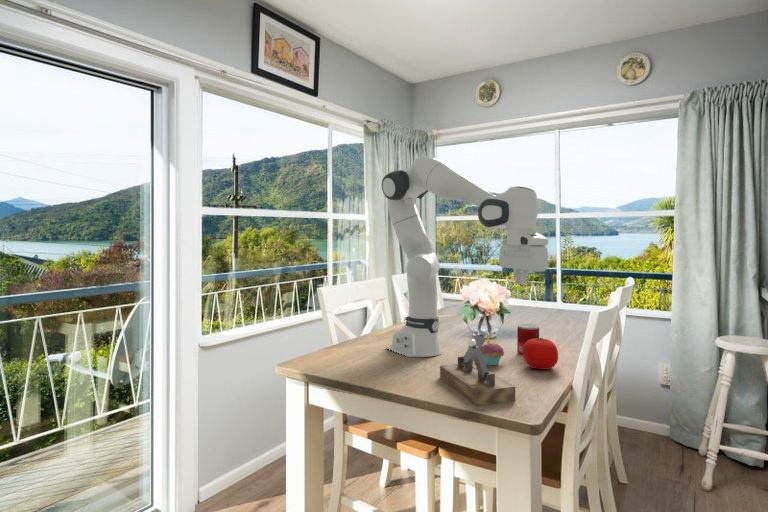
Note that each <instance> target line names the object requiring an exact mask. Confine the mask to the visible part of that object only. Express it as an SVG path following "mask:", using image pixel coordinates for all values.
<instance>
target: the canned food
mask: <svg viewBox="0 0 768 512" xmlns="http://www.w3.org/2000/svg"><path fill="white" fill-rule="evenodd" d="M516 330H517V337H516V338H517V339H516V340H517V342H516V347H517V348H516V350H517V354H519V355H520V356H523V357H524V355H523V347H524V345H525V343H526V342H527V341H528V340H530V339H534V338H537V339H540V326H539V325H538V324H537V325H536V324H533V323H519V324H518V325H517V329H516Z"/></svg>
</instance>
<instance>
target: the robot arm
mask: <svg viewBox="0 0 768 512" xmlns="http://www.w3.org/2000/svg"><path fill="white" fill-rule="evenodd" d="M381 191H382V192H383V195H384V197H385V198H387V209H388V210H387V211H388V214H389V219H390V221H391V224H392V227H393V230H394V232H395V235H396V238H397V240H398V243H399V245H400V246H401V249H402V250H403V252H404V254H405V255H406V256H405V257H406V258H407V260H408V261H407V263H406V268H405V270H406V278H407V280H406V281H407V282H406V283H407V289H408V298H409V299H408V307H409V308H408V314H409V315H408V316H407V317H406V316H405V317H404V318H403V322H404V321H406V322H405V325H403V326H402V327H400V328H399V330H397V331H396V332H394V334H393V335H392V339H391V343H390V344H388V345H387V346H385V349H386V348H387V349H389V350H388V351H390V350H392V351H391V352H393V351H394V352H393V353H396V352H397V353H396V354H398V353H399V354H398V355H401V354H402V355H401V356H404V355H405V357H407V358H415V357H416V358H417V357H418V358H419V357H421V358H425V357H427V358H428V357H429V358H430V357H436V356H439V355H440V354H442V349H441V345H440V339H439V326H440V325H439V322H440V320H439V316H438V309H439V308H438V306H439V305H438V302H439V301H438V290H437V289H438V288H437V275H438V273H439V270H440V262H439V258H438V256H437V255H436V252H435V250H434V248H433V245H432V243H431V240H430V239H429V237H428V235H427V232H426V230H425V227H424V224H423V221H422V219H421V216H420V213H419V211H418V209H417V205H416V200H417V199H422V198H423V197H424V196H425V195H426V194H427V193H428V192H430V193H431V194H433V195H435V196H437V197H440V198H442V199H445V200H453V201H461V202H466V203H469V204H472V205H474V206H476V207H478V209H477V216H478V217H477V218H478V220H479V222H480V223H481V225H482V226H484V227H487V228H488V229H499V230H500V229H504V230H506V238H505V239H504V240H503V242H502V244H501V246H500V251H499V255H498V256H499V258H498V263H499V267H501V268H508V269H513V274H514V277H515V283H516V285H517V284H518V285H527V279H528V277H529V275H530V272H535V273H536V272H538V273H539V272H546V271H547V269H548V266H549V265H548V263H549V256H548V255H549V252H548V247H547V246H548V245H549V238H547V237H545V236H544V235H542V234H540V233H538V226H537V218H538V209H539V208H538V195H537V192H536V190H535V189H534V188H532V187H528V186H523V185H511V186H510V187H509V188H508V189H507V190H505V191H503V192H502V193H499V194H498V195H496V194H494V193H492V192H490V191H489V190H486V189H484V188H483V187H481V186H479V185H478V184H476V183H474V182H473V181H471V180H470V179H469V178H467V177H466V176H464V175H463V174H461V173H460V172H459V171H457V170H456V169H455V168H453V167H451V166H450V165H448V164H447V163H445V162H444V161H442V160H439V159H437V158H435V157H432V156H428V155H421V156H418V157H417V158H415V159H414V160H413V162H412V164H411V167H404V168H403V169H400V170H393V171H390V172H389V173H387V174H386V175H384V177H382V180H381ZM387 349H386V350H387Z"/></svg>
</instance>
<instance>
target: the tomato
mask: <svg viewBox="0 0 768 512" xmlns="http://www.w3.org/2000/svg"><path fill="white" fill-rule="evenodd" d="M523 355H524V356H523ZM523 355H522V356H523V358H524V361H525V362H526V364H527V365H528V366H529V367H531V368H532V369H536V370H537V369H538V370H539V369H540V370H548V369H552V368H554V367H555V366H556V365H557V364H558V361H559V351H558V347H557V345H556V344H555V343H554V342H553V341H552V340H549V339H547V338H543V337H539V339H537V338H534V339H530V340H528V341H527V342H526V343H525V345H524V347H523Z"/></svg>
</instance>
